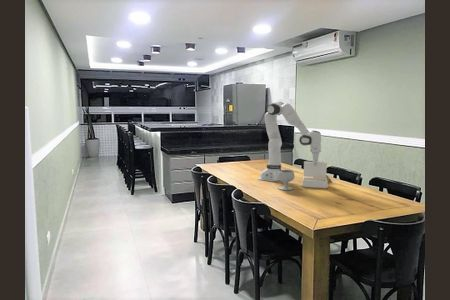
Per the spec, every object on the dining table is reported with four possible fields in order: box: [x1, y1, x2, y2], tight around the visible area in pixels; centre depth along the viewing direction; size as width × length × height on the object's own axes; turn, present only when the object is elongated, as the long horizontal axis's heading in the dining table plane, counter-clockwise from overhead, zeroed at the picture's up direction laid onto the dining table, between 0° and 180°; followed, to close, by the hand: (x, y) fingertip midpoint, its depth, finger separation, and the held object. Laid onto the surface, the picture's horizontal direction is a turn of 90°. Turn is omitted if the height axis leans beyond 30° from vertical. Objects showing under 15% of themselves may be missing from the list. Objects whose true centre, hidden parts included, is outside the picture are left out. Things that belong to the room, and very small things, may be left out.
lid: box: [303, 161, 328, 178], centre depth 285 cm, size 19×13×1 cm
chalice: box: [277, 169, 295, 191], centre depth 269 cm, size 14×14×15 cm
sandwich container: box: [312, 174, 332, 182], centre depth 303 cm, size 9×15×15 cm, turn 108°
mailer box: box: [302, 176, 329, 190], centre depth 280 cm, size 20×14×6 cm
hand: (315, 165), depth 282 cm, fingers closed
